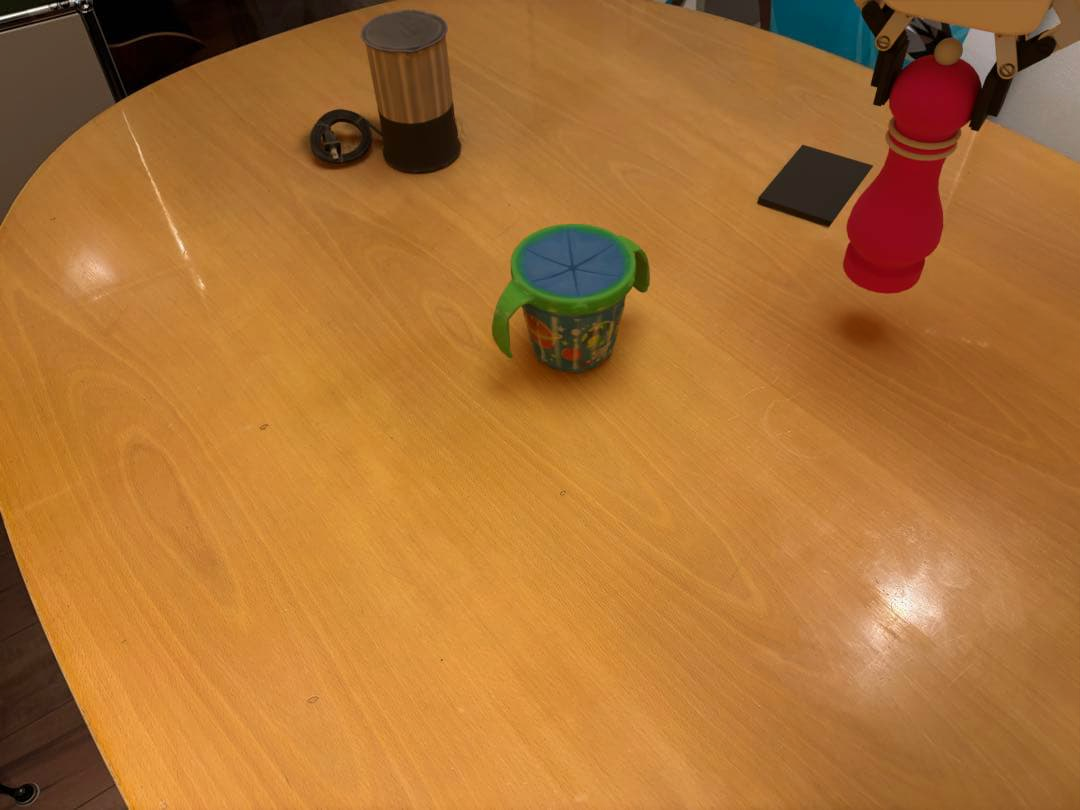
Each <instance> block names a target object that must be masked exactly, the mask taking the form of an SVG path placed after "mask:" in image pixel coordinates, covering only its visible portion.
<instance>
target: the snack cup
mask: <svg viewBox="0 0 1080 810" xmlns="http://www.w3.org/2000/svg"><path fill="white" fill-rule="evenodd" d="M510 276H511V279H510V281H509V283H508V284H507V285H506V286H505V288H504V290H503V291H502V292H501V295H500V296H499V298H498V299H497V303H496V306H495V309H494V312H493V317H492V324H491V335H492V338H493V340H494V341H493V342H495V344H496V345H497V347H498V349H499V350H500V351H501V353H503V354H504V355H505V357H506V358H508V359H513V357H514V356H513V353H512V351H511V337H510V334H511V333H510V320H511V318H512V317H513V316H514V314H515V313H516V312H517V311H518V310H519V309H520V308H522V312H523V313H522V314H523V317H524V321H525V325H526V328H527V332H528V336H529V342H530V344H531V347H532V349H533V352H534V354H535V356H536V358H537V360H538V362H540V363H541V364H543V365H546V366H548V367H550V368H552V369H554V370H557V371H561V372H564V373H567V372H569V373H572V374H575V375H577V374H581V373H582V374H583V373H584V372H585V371H588V370H593V369H595V368H597V367H598V366H600V365H601V364H603V363H604V362H605V361H606V360H607V359H609V358H610V357H611V356H612V354H613V349H614V347H615V345H616V342H617V339H618V338H617V337H618V333H619V330H620V327H621V322H622V319H623V314H624V310H625V306H626V305H625V304H626V303H625V302H626V297H627V295H628V294H629V293H630V292H631V291H632V289H633V288H634V289H635V290H637V292H640V293H642V294H643V293H647V291H648V290H649V287H650V284H651V283H650V282H651V269H650V263H649V258H648V256H647V253H646V251H644V250H643V248H642V247H641V246H639V245H638V243H636V242H634V241H633V240H632V239H629V237H626V236H624V235H622V234H621V235H620V234H617V233H614V232H612V231H610V230H609V229H607V228H604V227H600V226H597V225H592V224H585V223H562V224H561V223H560V224H555V225H550V226H546V227H544V228H541V229H537V230H536V231H534V232H532V233H530V234H529V235H527V236H526V237H524V239H522V240H520V242H518V244H517V245H516V246H515V248H514V249H513V252H512V255H511V257H510Z"/></svg>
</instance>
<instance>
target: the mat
mask: <svg viewBox="0 0 1080 810" xmlns="http://www.w3.org/2000/svg"><path fill="white" fill-rule="evenodd" d="M872 168H874V165H873V164H870V163H868V162H867V163H866V162H863V161H859V160H856V159H853V158H849V157H846V156H843V155H839V154H837V153H833V152H829V151H826V150H822V149H819V148H816V147H812V146H809V145H805V144H802V145H801V146H800V147H798V149H797V150H796V152H795V153H794V154H793V155H792V157H791V158H790V159H789V160H788V161H787V163H786V164H784V165H783V166H782V168H781V169H780V171H779V172H778V173H777V175H776V176H775V177H774V178H773V179H772V180H771V182H770V183H769V184H768V185H767V186H766V188H765V189H764V190H763V191H762V193H760V194H759V196H758V197H757V204H758V205H762V206H765V207H768V208H771V209H773V210H777V211H780V212H783V213H786V214H789V215H792V216H794V217H797V218H801V219H804V220H807V221H810V222H813V223H816V224H818V225H822V226H825V227H828V228H830V227H831V225H832V224H833V223H834V222H835V220H836V219H837V217H838V216H839V214H840V213H841V211H842V210H843V209H844V208H845V206H846V204H847V203H848V202H849V200H850V199H851V198H852V196H853V195H854V193H855V192H856V191H857V190H858V188H859V187H860V185H861V184H862V183H863V181H864V180H865V178H866V177H867V176H868V174H869V173H870V171H871V170H872Z"/></svg>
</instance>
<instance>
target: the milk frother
mask: <svg viewBox="0 0 1080 810" xmlns="http://www.w3.org/2000/svg"><path fill="white" fill-rule="evenodd" d="M447 33H448V24H447V22H446V20H445V19H443V17H442V16H439V15H438V14H436V13H433V12H430V11H427V10H422V9H421V10H419V9H409V8H408V9H402V10H394V11H390V12H386V13H383V14H380V15H377V16H375V17H373V18H372V19H370V20H369V21H367V22H366V23H365V24H364V25H363V26H362V27H361V30H360V38H361V40H362V42H363V43H365V48H366V49H365V50H366V54H367V59H368V60H367V61H368V64H369V65H368V66H369V71H370V75H371V81H372V87H373V90H374V95H375V96H374V97H375V102H376V106H377V111H378V118H379V122H380V129H379V128H378V127H376V125H374V124H372V123H371V121H369V120H368V119H366V118H365V117H364V116H362V115H361V114H359V113H358V112H355V111H353V110H349V109H343V108H337V109H332V110H329V111H328V112H325V113H324V114H323V115H322V116H320V117H319V118H318V120H316V122H315V123H314V125H313V126H312V129H311V131H310V134H309V145H310V149H311V151H312V153H313V155H314V156H315V157H316V158H317V159H318V160H320V161H321V162H323V163H325V164H329V165H334V166H335V165H338V166H339V165H341V166H342V165H348V164H353V163H355V162H358V161H359V160H362V158H364V156H365V155H366V154H367V153H368V152H369V150H370V148H371V145H372V140H373V137H372V136H373V135H372V130H373V131H374V132H376V133H377V134H378V135H379V136H380V137H382V144H383V145H382V146H383V148H382V156H383V158H384V161H385V162H386V163H387V164H388V165H389V166H391V167H392V168H394V169H397V170H399V171H401V172H407V173H428V172H432V171H437V170H439V169H443V168H445V167H447V166H449V165H450V164H451V163H453V162H454V161H455V160H456V159H457V158H458V157H459V155H460V153H461V150H462V144H461V140H460V139H459V133H458V125H457V122H456V116H455V106H454V98H453V87H452V77H451V69H450V60H449V52H448V51H449V50H448V43H447ZM338 123H347V124H349V125H352V126H353V127H355V128H356V129H358V131H359V132H360V135H361V140H360V141H359V143H358V145H357V146H356V147H355V148H354V149H352V150H351V151H349V152H345V153H342V143H341V141H340V140H338V139H337V138H336V136H335V131H333V130H332V126H335V124H338ZM371 129H372V130H371ZM322 141H323V143H324V144H323V145H322Z"/></svg>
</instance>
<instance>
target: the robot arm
mask: <svg viewBox="0 0 1080 810" xmlns="http://www.w3.org/2000/svg"><path fill="white" fill-rule="evenodd" d="M853 2H854V3H855V5H856V7H857V8H859V9H860V13H861V14H860V15H861V17H862V19H863V21H864V23H865V24H866V26H867V27H868V28H869V31H870V32H871V34H872V35H873V37H874V38H875V40H874V46H875V47H876V49H877V50H878V52H877V58H876V62H875V65H874V69H873V73H872V77H871V80H870V87H873V88H876V91H875V95H874V98H873V104H872V105H873V106H876V107H882V106H885V105H886V103H888V102H889V95H890V90H891V88H892V85H893V83H894V81H895V78H896V77H897V76H898V74H899V73H900V71H901V70H902V69H903V68H904V63H905V60H906V58H907V57H906V56H907V52H908V48H909V46H910V40H909V35H907V34H908V32H907V30H906V29H907V28H908V27H909V25H910V24H911V23H912V21H913V20H914V18H920V19H924V20H929V21H934V22H939V23H943V24H947V25H953V26H957V27H963V28H967V29H971V30H976V31H977V30H978V31H982V32H987V33H992V34H994V35H993V37H994V46H995V47H994V48H995V62H994V64H993V65H992V67H991V69H990V70H989V72H988V73H987V75H986V76H985V79H984V81H983V84H982V89H981V92H980V95H979V98H978V101H977V104H976V107H975V109H974V112H973V115H972V118H971V120H970V121H969V124H968V128H970V131H974V132H979V131H980V130H981V128H982V127H983V125H984V123H985V122H986V120H987V119H988V116H990V117H993V118H998V116H999V114H1000V113H1001V111H1002V108H1003V106H1004V103H1005V101H1006V98H1007V95H1008V93H1009V90H1010V87H1011V85H1012V82H1013V79H1014V77H1015V76H1016V75H1017V73H1020V72H1022V71H1023V70H1024V71H1025V70H1026V69H1028V68H1030V67H1032V66H1034V65H1036V64H1038V63H1039V62H1041V61H1043V60H1045V59H1047V58H1049V57H1050V56H1051V55H1052V54H1055V53H1056V52H1058V51H1061V50H1063V49H1066V48H1068V47H1069V46H1072V45H1073V44H1075V43H1077V42H1079V41H1080V0H853ZM1052 8H1053V10H1054V11H1055V14H1056V15H1057V18H1058V19H1059V21H1060V23H1058V24H1056V25H1055V26H1054V27H1052V28H1051V29H1046V30H1043V31H1042V32H1040V33H1038V34H1036V35H1034V36H1032V37H1030V38H1029V36H1028V34H1032V33H1033V32H1035V31H1036V30H1037V29H1038V28H1039V26H1040V25H1041V23H1042V21H1043V20H1044V17H1045V15H1046V13H1048V11H1049V10H1051V9H1052Z"/></svg>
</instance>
